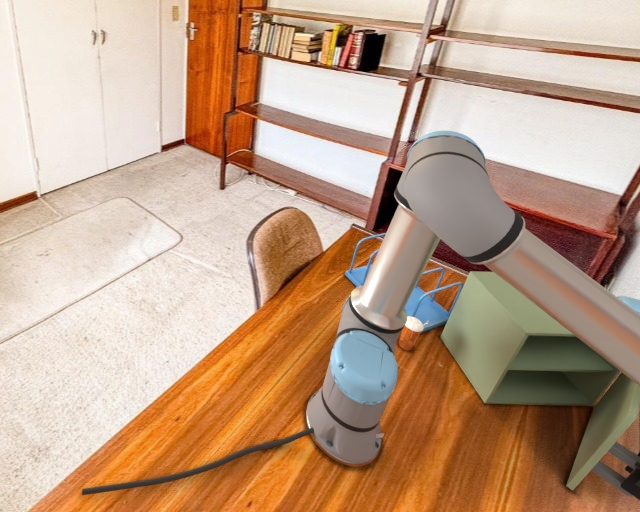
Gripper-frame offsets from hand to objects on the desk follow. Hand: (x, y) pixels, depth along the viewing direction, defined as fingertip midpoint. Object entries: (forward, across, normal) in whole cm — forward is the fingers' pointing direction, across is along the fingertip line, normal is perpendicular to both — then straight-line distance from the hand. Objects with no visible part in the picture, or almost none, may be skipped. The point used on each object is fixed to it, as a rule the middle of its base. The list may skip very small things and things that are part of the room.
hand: (633, 483), depth 72 cm
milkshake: (+7, +2, +40) cm, 41 cm away
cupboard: (+7, +18, +22) cm, 29 cm away
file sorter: (+7, +17, +51) cm, 54 cm away
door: (+7, +9, +3) cm, 12 cm away
